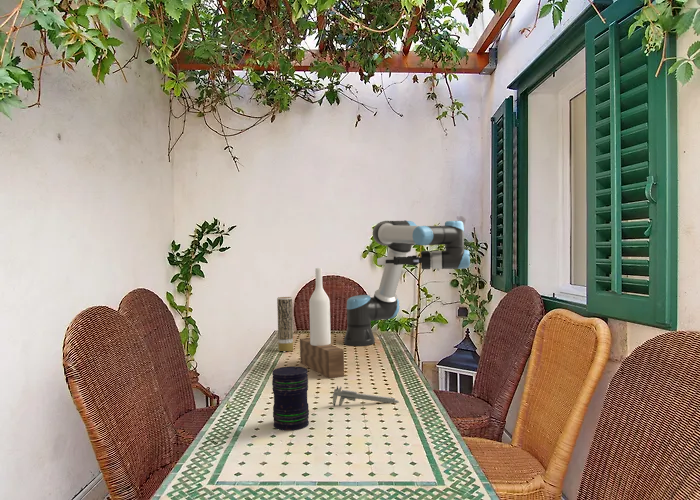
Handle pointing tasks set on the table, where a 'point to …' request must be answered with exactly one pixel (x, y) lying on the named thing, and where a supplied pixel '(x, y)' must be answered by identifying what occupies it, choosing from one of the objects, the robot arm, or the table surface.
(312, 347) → the wooden block
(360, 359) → the table surface
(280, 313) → the paper tube
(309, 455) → the table surface
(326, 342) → the bottle
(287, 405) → the storage jar
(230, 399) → the table surface
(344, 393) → the caliper
